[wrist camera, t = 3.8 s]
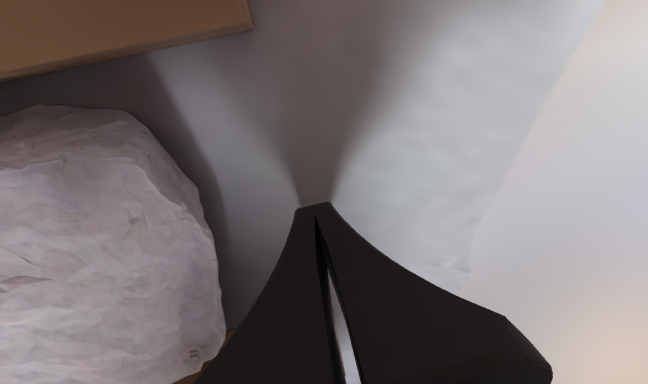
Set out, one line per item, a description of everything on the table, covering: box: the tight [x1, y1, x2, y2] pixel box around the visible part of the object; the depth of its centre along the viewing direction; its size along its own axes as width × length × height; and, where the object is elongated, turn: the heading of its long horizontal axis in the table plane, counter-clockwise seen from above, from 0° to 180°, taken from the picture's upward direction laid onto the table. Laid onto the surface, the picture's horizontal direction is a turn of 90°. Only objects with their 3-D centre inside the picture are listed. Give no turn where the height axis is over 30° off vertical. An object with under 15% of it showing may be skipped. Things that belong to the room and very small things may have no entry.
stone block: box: [0, 104, 226, 384], centre depth 10 cm, size 12×5×10 cm
